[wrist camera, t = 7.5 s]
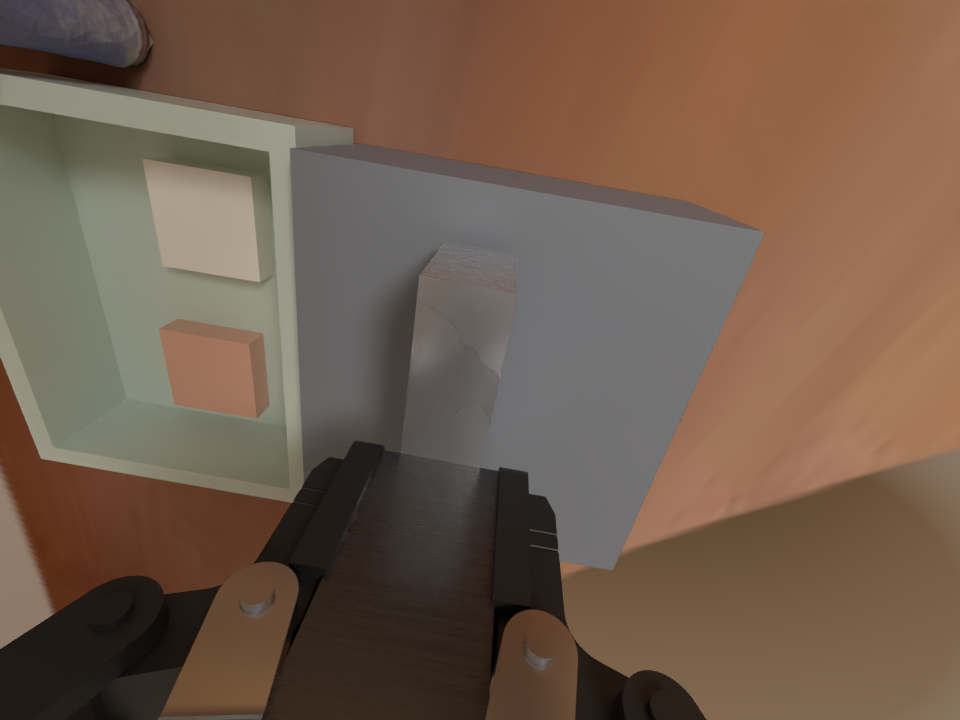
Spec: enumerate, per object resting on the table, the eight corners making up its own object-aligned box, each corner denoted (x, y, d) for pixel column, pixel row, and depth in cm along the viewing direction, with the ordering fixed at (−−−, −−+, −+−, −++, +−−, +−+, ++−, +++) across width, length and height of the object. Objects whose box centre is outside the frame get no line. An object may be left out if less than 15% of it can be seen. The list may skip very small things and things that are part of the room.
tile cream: (250, 176, 16) (267, 174, 17) (142, 158, 16) (165, 157, 17) (260, 282, 18) (274, 273, 19) (162, 265, 18) (182, 258, 19)
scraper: (427, 237, 12) (198, 470, 3) (536, 258, 12) (582, 540, 3) (393, 545, 17) (271, 936, 9) (468, 559, 17) (420, 962, 9)
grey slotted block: (361, 143, 17) (289, 148, 12) (688, 201, 17) (765, 232, 12) (353, 430, 24) (305, 516, 18) (591, 472, 24) (612, 570, 18)
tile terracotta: (249, 344, 19) (263, 333, 20) (158, 329, 19) (177, 318, 20) (257, 418, 21) (269, 405, 22) (174, 404, 21) (191, 391, 22)
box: (46, 73, 17) (-122, 52, 12) (353, 128, 17) (295, 126, 12) (130, 398, 24) (41, 458, 19) (347, 436, 24) (308, 505, 19)
